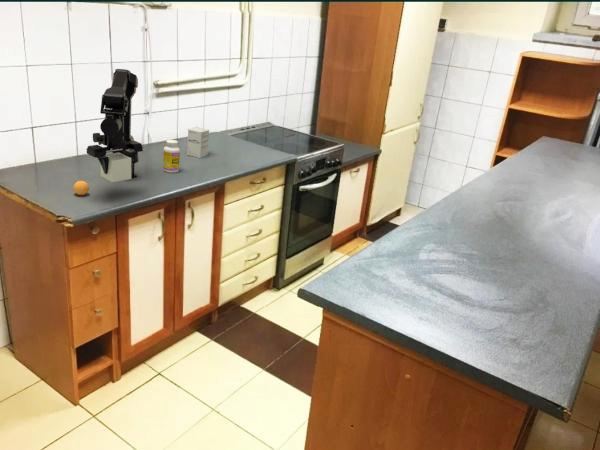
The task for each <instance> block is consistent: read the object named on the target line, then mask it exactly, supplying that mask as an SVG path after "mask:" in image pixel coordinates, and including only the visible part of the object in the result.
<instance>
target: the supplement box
mask: <svg viewBox="0 0 600 450" xmlns="http://www.w3.org/2000/svg"><path fill="white" fill-rule="evenodd" d="M209 141H210V129H206V128H201V127H199V126H194V127H191V128H188V129H187V148H186V149H187V150H186V155H187V156H189V157H190V156H191V157H195V158H198V159H201V158H204V157H207V156H208V155H209ZM206 155H207V156H206Z"/></svg>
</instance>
